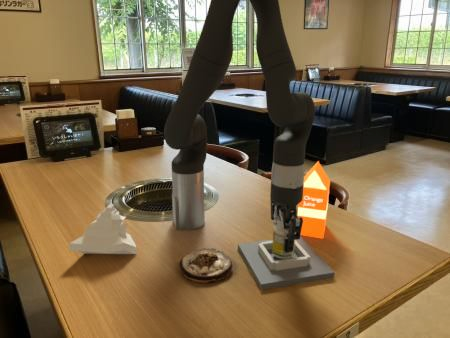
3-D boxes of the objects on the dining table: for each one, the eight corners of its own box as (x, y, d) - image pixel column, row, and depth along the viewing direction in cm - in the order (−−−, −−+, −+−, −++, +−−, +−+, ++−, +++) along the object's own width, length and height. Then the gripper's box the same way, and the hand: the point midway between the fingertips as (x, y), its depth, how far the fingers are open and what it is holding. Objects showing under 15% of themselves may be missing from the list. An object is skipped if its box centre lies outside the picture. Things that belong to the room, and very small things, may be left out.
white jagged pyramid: (87, 246, 102) (91, 195, 101) (141, 251, 102) (145, 200, 101) (68, 260, 90) (72, 202, 89) (129, 266, 90) (134, 208, 89)
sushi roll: (181, 294, 81) (180, 277, 80) (171, 258, 95) (170, 244, 93) (245, 283, 85) (245, 267, 84) (226, 250, 98) (226, 236, 97)
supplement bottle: (286, 262, 88) (288, 226, 85) (267, 254, 91) (269, 219, 88) (297, 253, 92) (300, 218, 89) (279, 245, 95) (281, 211, 92)
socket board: (261, 290, 82) (261, 276, 81) (237, 248, 98) (238, 237, 97) (333, 277, 86) (335, 264, 85) (300, 240, 102) (300, 229, 101)
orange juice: (326, 225, 111) (332, 161, 105) (323, 238, 103) (330, 171, 97) (300, 221, 114) (304, 159, 107) (295, 234, 106) (300, 168, 99)
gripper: (261, 172, 91) (259, 233, 96) (284, 193, 78) (280, 263, 83) (289, 169, 93) (285, 230, 98) (317, 190, 79) (311, 258, 85)
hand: (283, 244), depth 91 cm, fingers closed on supplement bottle, 5 cm apart
